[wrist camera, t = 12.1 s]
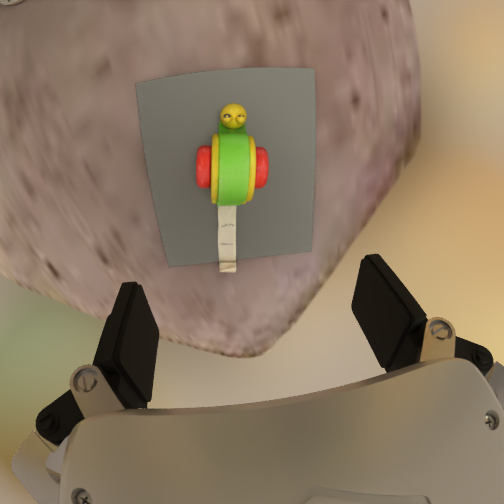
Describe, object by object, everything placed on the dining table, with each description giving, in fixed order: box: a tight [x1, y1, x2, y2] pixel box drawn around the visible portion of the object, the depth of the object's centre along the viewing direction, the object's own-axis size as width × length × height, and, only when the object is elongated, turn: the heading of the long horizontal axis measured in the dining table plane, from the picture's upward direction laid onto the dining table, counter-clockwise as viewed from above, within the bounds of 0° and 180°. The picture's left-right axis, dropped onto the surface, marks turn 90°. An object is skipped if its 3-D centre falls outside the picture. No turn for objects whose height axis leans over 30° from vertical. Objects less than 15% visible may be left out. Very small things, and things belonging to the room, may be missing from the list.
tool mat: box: [136, 67, 316, 267], centre depth 28 cm, size 18×22×1 cm
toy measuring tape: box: [196, 103, 269, 272], centre depth 26 cm, size 6×20×7 cm, turn 176°
